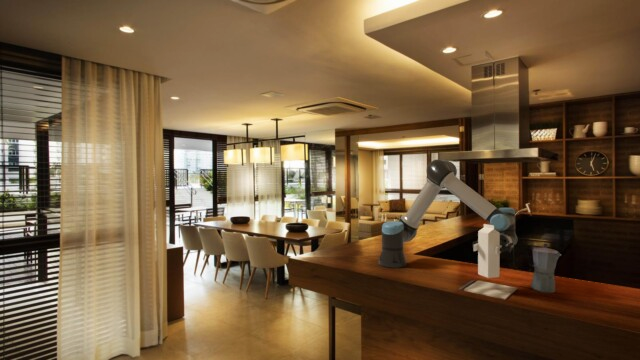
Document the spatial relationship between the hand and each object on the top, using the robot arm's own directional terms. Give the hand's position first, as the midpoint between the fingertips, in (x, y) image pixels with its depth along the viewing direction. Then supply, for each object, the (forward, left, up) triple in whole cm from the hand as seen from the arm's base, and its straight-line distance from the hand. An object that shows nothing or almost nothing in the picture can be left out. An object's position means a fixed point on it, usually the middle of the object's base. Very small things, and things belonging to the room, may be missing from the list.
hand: (485, 249), depth 147 cm
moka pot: (+17, +21, -18) cm, 32 cm away
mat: (0, +5, -18) cm, 19 cm away
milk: (0, +5, -12) cm, 13 cm away
